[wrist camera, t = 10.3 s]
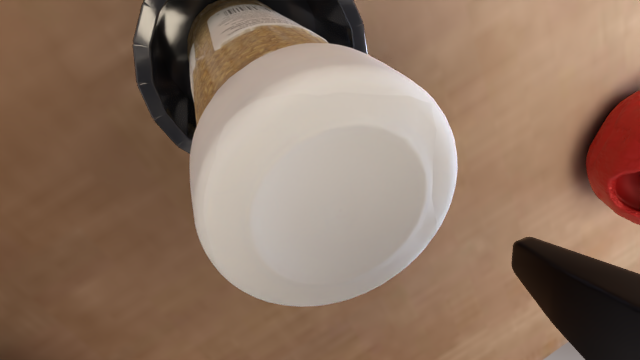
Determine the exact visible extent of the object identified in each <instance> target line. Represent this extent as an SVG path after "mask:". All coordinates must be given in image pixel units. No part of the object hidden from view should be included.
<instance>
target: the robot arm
mask: <svg viewBox="0 0 640 360" xmlns="http://www.w3.org/2000/svg"><path fill="white" fill-rule="evenodd" d="M512 268H513V271H514V273H515V274H516V275H517V277H518V278H519V279H520V281H521V282H522V283H523V285H524V286H525V287H526V289H527V290H528V292H529V293H530V294H531V296H532V297H533V298H534V300H535V301H536V302H537V304H538V305H539V306H540V308H541V309H542V310H543V312H544V313H545V314H546V316H547V317H548V318H549V319H550V321H551V322H552V323H553V324H554V325H555V327H556V328H557V329H558V330H559V331H560V332H561V333H562V334H563V336H564V337H565V338H566V339H567V340H568V341H569V342H570V343H571V344H572V345H573V346H574V347H575V349H576V350H577V351H578V352H579V353H580V354H581V355H582V356H583V358H585V360H640V274H638V273H635V272H632V271H629V270H626V269H623V268H620V267H618V266H615V265H612V264H609V263H606V262H603V261H600V260H597V259H594V258H591V257H588V256H585V255H582V254H580V253H577V252H574V251H571V250H568V249H565V248H562V247H559V246H556V245H553V244H550V243H547V242H545V241H542V240H539V239H536V238H533V237H526V238H523V239H521V240H518V241H516V242H515V243H514V244H513V253H512Z"/></svg>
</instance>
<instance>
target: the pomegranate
mask: <svg viewBox="0 0 640 360" xmlns="http://www.w3.org/2000/svg"><path fill="white" fill-rule="evenodd" d="M586 169H587V175H588V179H589V182H590V185H591V187H592V190H593V191H594V193H595V194H596V195H597V197H598V198H599V199H600V200H602V201H603V202H604V203H605V204H606V205H607V206H609V207H610V208H611V209H612V210H613V211H614V212H615V213H617V214H618V215H620V216H621V217H624V218H626V219H627V220H630V221H632V222H633V223H636V224H639V225H640V90H639V91H637V92H635V93H634V94H632V95H630V96H628V97H627V98H625V99H624V100H623V101H621V102H620V103H619V104H618V105H617V106H616V107H615V108H614V109H613V110H612V111H611V112H610V113H609V115H608V116H607V118H606V120H605V121H604V123H603V124H602V126H601V128H600V129H599V131H598V133H597V134H596V136H595V138H594V140H593V142H592V143H591V145H590V147H589V151H588V154H587V158H586Z"/></svg>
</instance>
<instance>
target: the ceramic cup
mask: <svg viewBox="0 0 640 360" xmlns="http://www.w3.org/2000/svg"><path fill="white" fill-rule="evenodd" d="M216 1H218V0H143V3H142V6H141V10H140V14H139V18H138V22H137V26H136V30H135V34H134V38H133V54H134V64H135V74H136V82H137V83H138V84H137V86H138V88H139V90H140V92H141V95H142V97H143V99H144V101H145V103H146V106H147V108H148V110H149V112H150V114H151V117H152V118H153V119H154V121H155V122H156V123H157V125H158V126H159V127H160V128H161V129H162V130H163V131H164V132H165V133H166V134H167V136H168V137H169V138H170V139H171V140H172V141H173V142H174V143H175V144H176V145H177V146H178V147H179V148H181V149H182V150H184V151H186V152H187V153H189V154H190V151H191V145H192V139H193V136H194V132H195V130H196V127H197V123H196V114H195V105H194V100H193V96H192V90H191V82H190V68H189V60H188V48H187V47H188V35H189V32H190V29H191V26H192V23H193V21H194V19H195V18H196V17H197V16H198V14H199V13H200V12H201V11H202V10H203V9H204V8H205V7H206V6H207V5H209V4H212V3H214V2H216ZM257 1H259V2H261V3H263V4H265V5H267V6H268V7H270V8H271V9H272V10H273V11H275V12H277V13H279V14H281V15H283V16H284V17H286V18H288V19H290V20H292V21H294V22H295V23H297V24H299V25H301V26H303V27H304V28H306V29H308V30H310V31H312V32H314V33H316V34H317V35H319V36H320V37H322V38H324V39H325V40H326V41H327V42H328V43H329V44H337V45H342V46H346V47H350V48H353V49H355V50H358V51H360V52H363V53H365V54H367V47H366V39H365V31H364V24H363V21H362V18H361V16H360V14H359V12H358V9H357V7H356V5H355V3H354V0H257Z"/></svg>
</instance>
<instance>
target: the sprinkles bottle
mask: <svg viewBox="0 0 640 360" xmlns="http://www.w3.org/2000/svg"><path fill="white" fill-rule="evenodd" d="M187 48H188V60H189V68H190V82H191V90H192V96H193V100H194V105H195V114H196V123H197V127H196V130H195V132H194V136H193V139H192V145H191V151H190V187H191V196H192V206H193V213H194V220H195V226H196V230H197V234H198V237H199V240H200V242H201V244H202V247H203V249H204V251H205V253H206V254H207V256H208V258H209V259H210V261H211V262H212V264H213V265H214V266H215V268H216V269H217V270H218V271H219V272H220V274H221V275H223V276H224V277H225V278H226V279H227V280H228V281H229V282H230V283H232V284H233V285H234V286H236V287H237V288H239V289H240V290H242V291H244V292H245V293H247V294H249V295H251V296H253V297H255V298H258V299H261V300H264V301H266V302H270V303H276V304H281V305H287V306H320V305H327V304H332V303H337V302H341V301H345V300H348V299H351V298H354V297H356V296H359V295H361V294H364V293H366V292H369V291H371V290H373V289H374V288H376V287H378V286H380V285H382V284H383V283H385V282H386V281H388V280H390V279H391V278H393V277H394V276H395V275H397V274H398V273H400V272H401V271H402V270H403V269H404V268H406V267H407V266H408V265H409V264H410V263H411V262H412V261H413V260H414V259H415V258H417V256H418V255H419V254H420V253H421V252H422V251H423V250H424V249H425V247H426V246H427V245H428V244H429V242H430V241H431V239H432V238H433V237H434V235H435V234H436V232H437V231H438V229H439V227H440V226H441V224H442V222H443V220H444V218H445V216H446V214H447V211H448V209H449V207H450V204H451V200H452V197H453V194H454V190H455V186H456V178H457V169H458V168H457V152H456V146H455V140H454V136H453V133H452V130H451V128H450V125H449V123H448V121H447V119H446V116H445V115H444V113H443V112H442V110H441V109H440V107H439V106H438V105H437V103H436V102H435V100H434V99H433V98H432V97H431V96H430V95H429V94H428V93H427V92H426V91H425V90H424V89H423V88H421V87H420V86H419V85H417V84H416V83H415V82H413V81H412V80H411V79H409V78H408V77H406V76H404V75H403V74H401V73H400V72H398V71H396V70H395V69H393V68H391V67H389V66H388V65H386V64H384V63H383V62H381V61H379V60H377V59H375V58H373V57H371V56H369V55H367V54H365V53H363V52H360V51H358V50H355V49H353V48H350V47H346V46H342V45H337V44H329V43H328V42H327V41H326V40H325V39H324V38H322V37H320V36H319V35H317V34H316V33H314V32H312V31H310V30H308V29H306V28H304V27H303V26H301V25H299V24H297V23H295V22H294V21H292V20H290V19H288V18H286V17H284V16H283V15H281V14H279V13H277V12H275V11H273V10H272V9H271V8H270V7H268V6H267V5H265V4H263V3H261V2H259V1H257V0H218V1H216V2H214V3H212V4H209V5H207V6H206V7H205V8H204V9H203V10H202V11H201V12H200V13H199V14H198V16H197V17H196V18H195V19H194V21H193V23H192V26H191V29H190V32H189V35H188V47H187Z"/></svg>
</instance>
